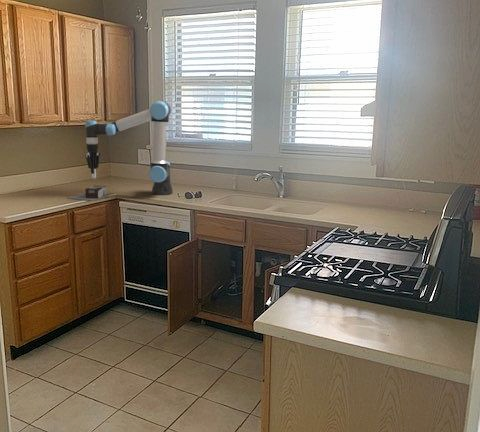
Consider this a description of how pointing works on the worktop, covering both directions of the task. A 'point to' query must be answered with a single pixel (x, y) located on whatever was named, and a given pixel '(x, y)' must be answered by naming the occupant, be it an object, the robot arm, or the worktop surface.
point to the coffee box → (96, 191)
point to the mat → (83, 197)
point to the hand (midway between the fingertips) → (94, 178)
